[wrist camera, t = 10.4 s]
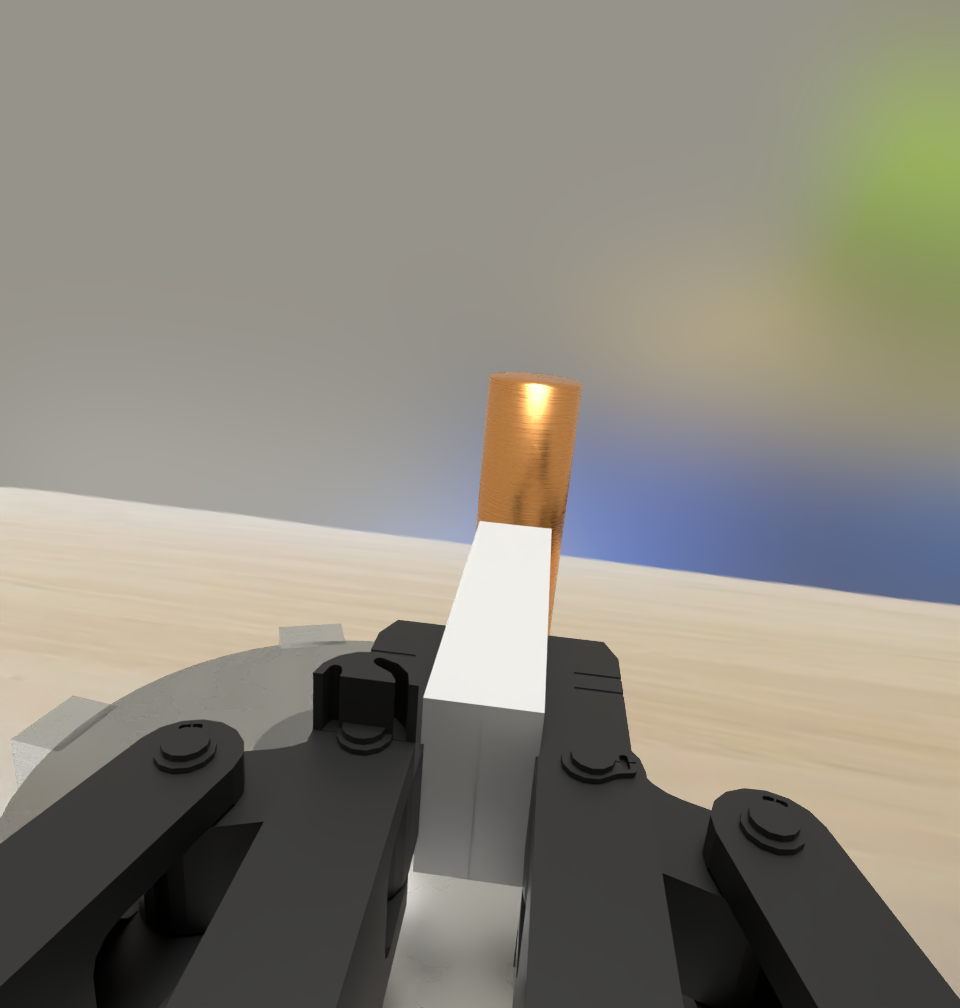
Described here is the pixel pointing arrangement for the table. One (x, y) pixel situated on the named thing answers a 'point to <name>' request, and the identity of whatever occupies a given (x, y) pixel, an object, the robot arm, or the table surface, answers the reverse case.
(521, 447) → the lugged metal dome
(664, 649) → the table surface
